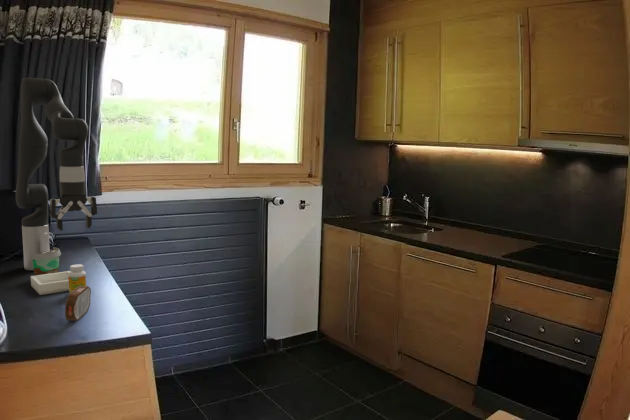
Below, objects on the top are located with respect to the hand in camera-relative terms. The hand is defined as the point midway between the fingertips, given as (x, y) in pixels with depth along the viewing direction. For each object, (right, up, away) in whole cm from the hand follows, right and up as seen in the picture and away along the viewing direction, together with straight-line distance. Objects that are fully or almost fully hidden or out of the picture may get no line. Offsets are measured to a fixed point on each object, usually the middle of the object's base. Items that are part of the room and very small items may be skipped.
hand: (74, 228), depth 178 cm
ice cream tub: (-19, -19, +23) cm, 35 cm away
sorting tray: (-11, -21, +10) cm, 26 cm away
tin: (+10, -26, -18) cm, 33 cm away
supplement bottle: (0, -22, +3) cm, 22 cm away
